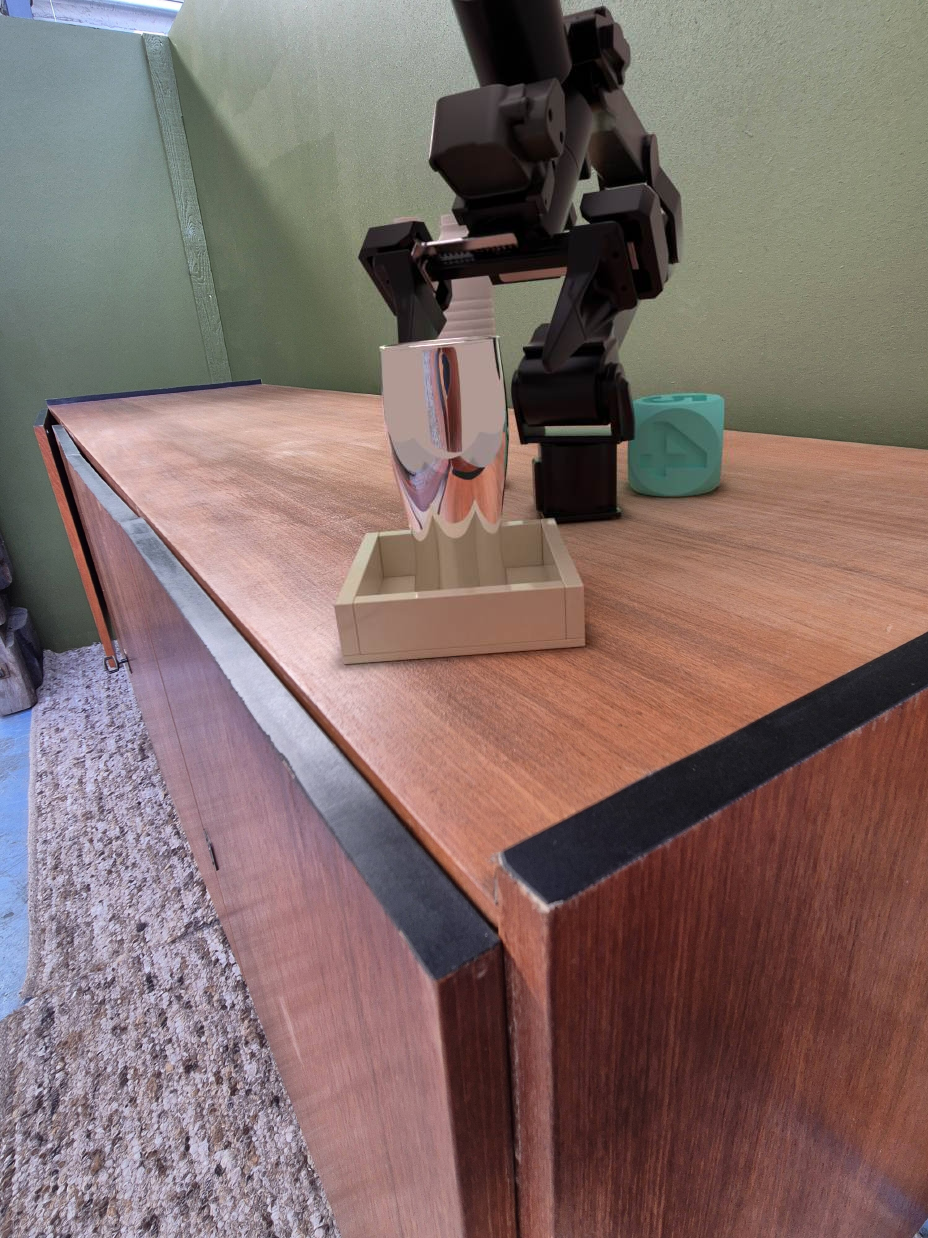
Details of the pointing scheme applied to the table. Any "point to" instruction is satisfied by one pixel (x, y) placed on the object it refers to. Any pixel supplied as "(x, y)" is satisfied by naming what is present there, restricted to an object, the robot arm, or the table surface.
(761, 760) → the table surface
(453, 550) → the silver metal tumbler
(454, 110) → the robot arm
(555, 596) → the tray
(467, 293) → the water bottle
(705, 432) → the decorative dice
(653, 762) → the table surface
